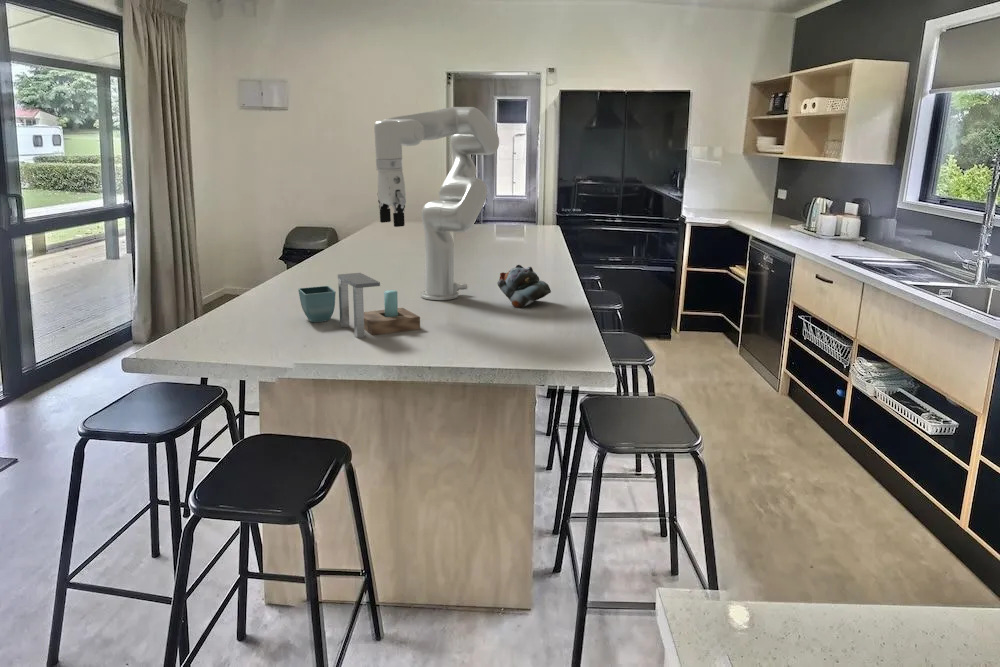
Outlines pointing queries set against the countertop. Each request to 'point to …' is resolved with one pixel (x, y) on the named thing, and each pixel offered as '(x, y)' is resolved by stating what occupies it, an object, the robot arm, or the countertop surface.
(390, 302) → the peg
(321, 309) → the flower pot
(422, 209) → the robot arm
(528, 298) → the lucky cat figurine
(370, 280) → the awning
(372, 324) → the socket
